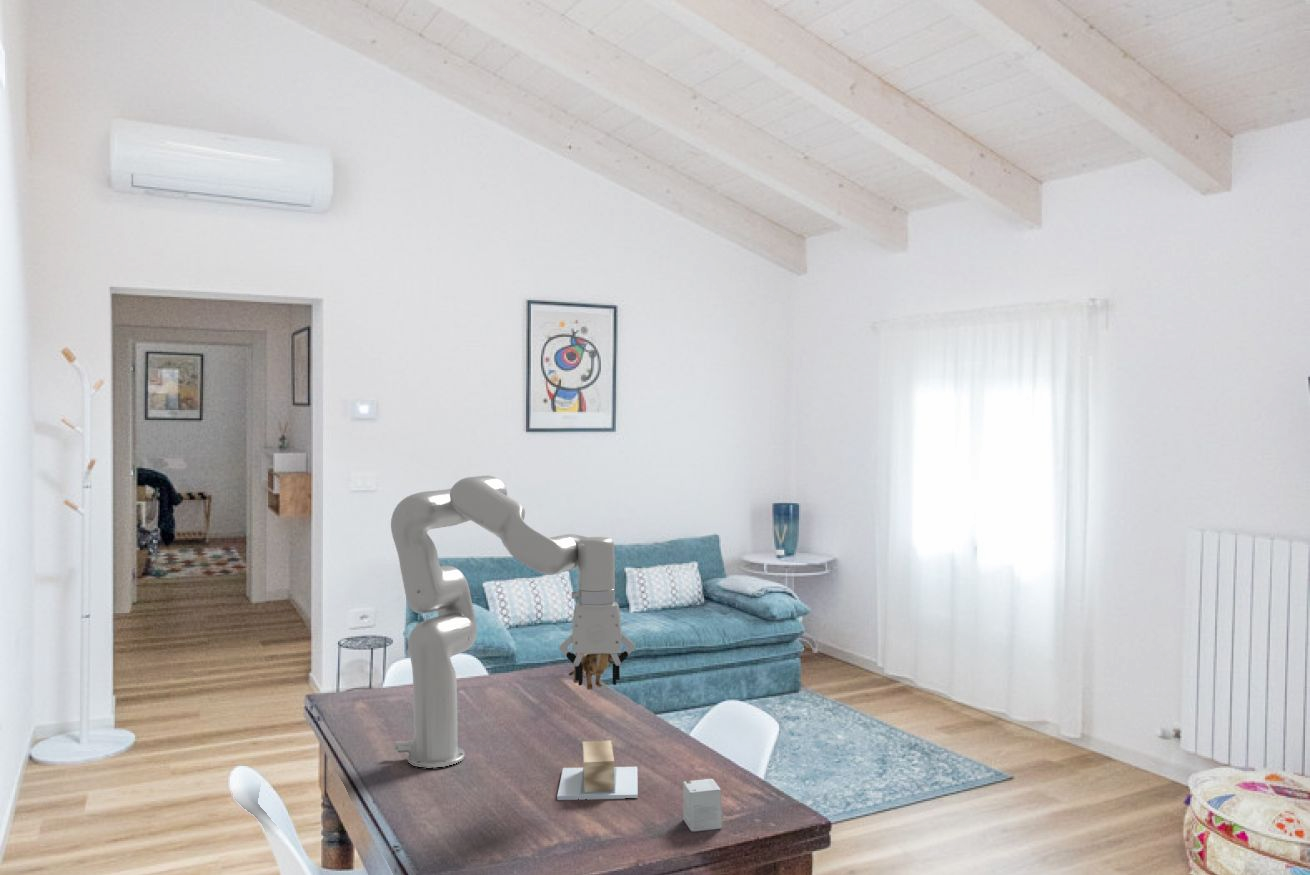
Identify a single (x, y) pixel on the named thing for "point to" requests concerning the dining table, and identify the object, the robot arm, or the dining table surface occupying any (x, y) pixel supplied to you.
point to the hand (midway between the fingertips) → (597, 682)
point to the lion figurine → (594, 667)
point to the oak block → (598, 766)
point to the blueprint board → (574, 790)
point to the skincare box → (702, 805)
